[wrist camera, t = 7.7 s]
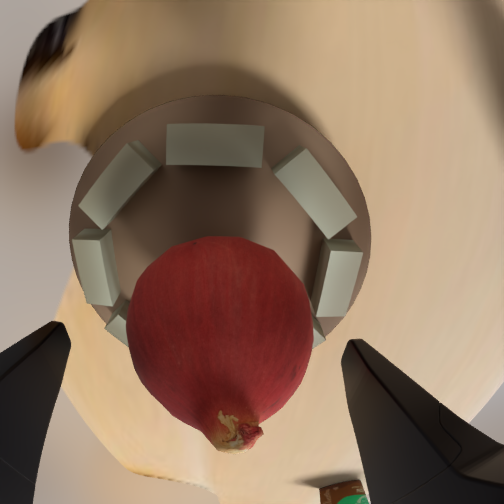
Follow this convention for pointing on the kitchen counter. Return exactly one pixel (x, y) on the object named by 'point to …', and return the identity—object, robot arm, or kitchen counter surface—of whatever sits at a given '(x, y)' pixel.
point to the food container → (344, 493)
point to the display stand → (219, 202)
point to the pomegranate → (220, 336)
